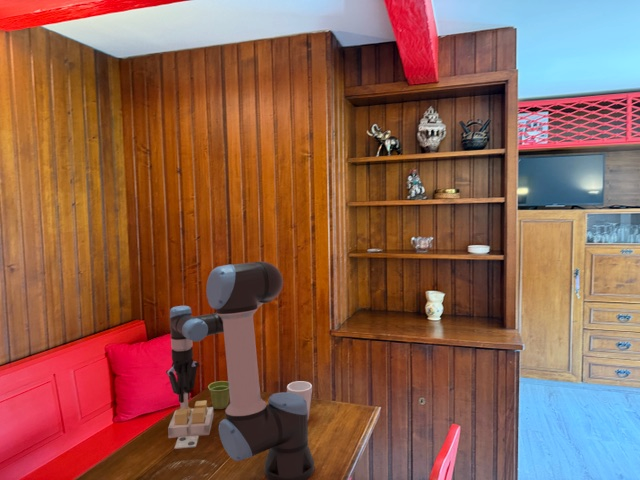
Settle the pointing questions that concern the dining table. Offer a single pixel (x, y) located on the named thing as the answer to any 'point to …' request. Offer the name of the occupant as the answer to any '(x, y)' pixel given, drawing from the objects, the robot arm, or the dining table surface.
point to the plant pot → (219, 394)
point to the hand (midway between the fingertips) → (184, 409)
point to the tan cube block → (189, 411)
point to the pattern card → (186, 442)
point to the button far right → (201, 405)
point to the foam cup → (301, 391)
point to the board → (191, 426)
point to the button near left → (181, 417)
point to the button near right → (198, 415)
